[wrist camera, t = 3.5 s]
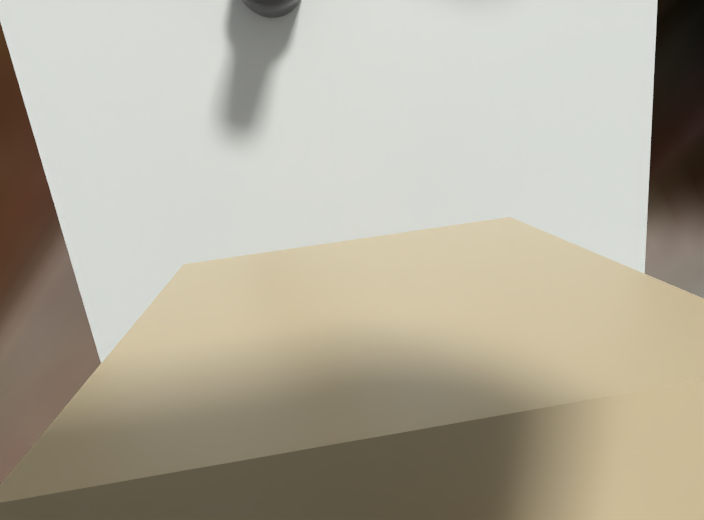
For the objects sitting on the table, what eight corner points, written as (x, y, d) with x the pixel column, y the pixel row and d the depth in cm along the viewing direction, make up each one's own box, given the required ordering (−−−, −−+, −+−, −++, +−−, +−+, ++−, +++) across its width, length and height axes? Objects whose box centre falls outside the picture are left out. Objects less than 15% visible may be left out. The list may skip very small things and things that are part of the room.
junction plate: (620, 303, 18) (750, 375, 13) (125, 383, 17) (47, 498, 12) (636, -184, 14) (840, -372, 9) (-19, -128, 13) (-242, -306, 7)
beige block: (518, 483, 11) (854, 1023, 4) (245, 534, 10) (156, 1224, 4) (510, 216, 9) (1040, 440, 3) (183, 263, 9) (-159, 675, 2)
